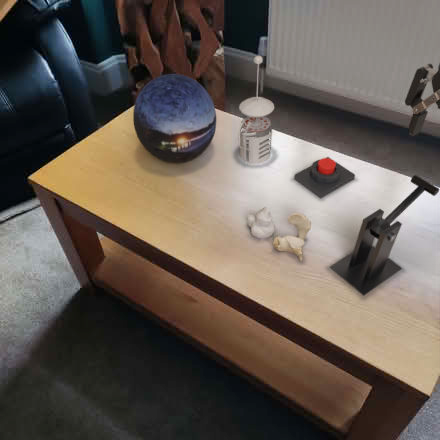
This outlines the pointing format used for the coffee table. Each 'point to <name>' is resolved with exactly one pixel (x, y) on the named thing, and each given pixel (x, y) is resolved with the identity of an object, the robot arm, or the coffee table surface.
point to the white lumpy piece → (261, 223)
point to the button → (326, 166)
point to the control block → (323, 179)
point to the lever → (403, 205)
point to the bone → (293, 242)
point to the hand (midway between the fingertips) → (435, 145)
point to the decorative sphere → (174, 118)
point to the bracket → (369, 257)
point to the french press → (256, 127)
